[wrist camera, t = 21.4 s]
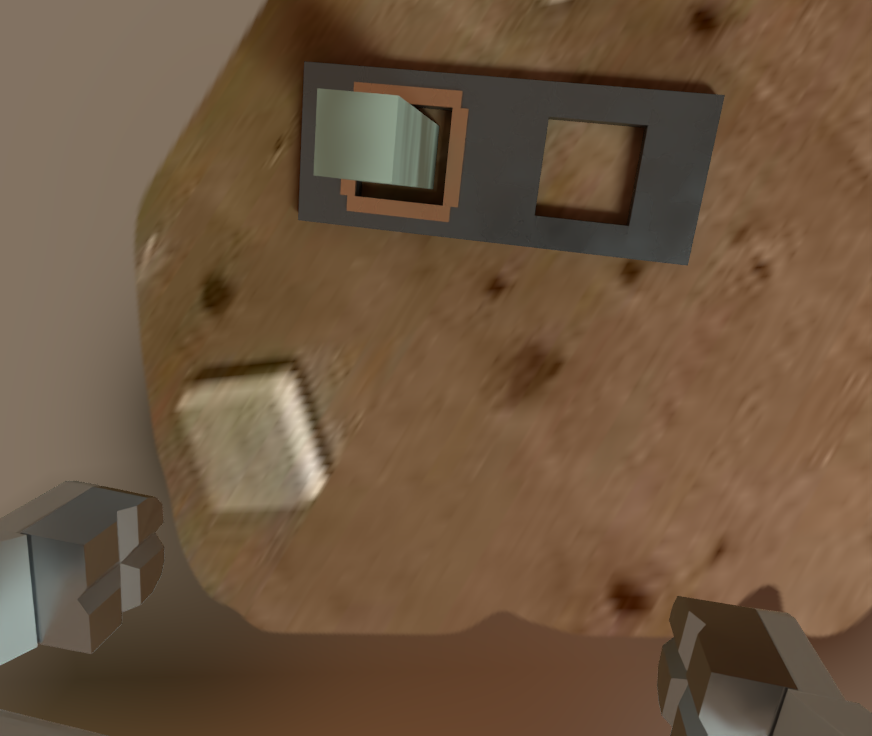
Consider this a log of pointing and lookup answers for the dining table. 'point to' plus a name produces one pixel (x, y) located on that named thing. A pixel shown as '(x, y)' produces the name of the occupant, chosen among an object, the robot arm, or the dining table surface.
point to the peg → (374, 139)
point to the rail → (524, 161)
